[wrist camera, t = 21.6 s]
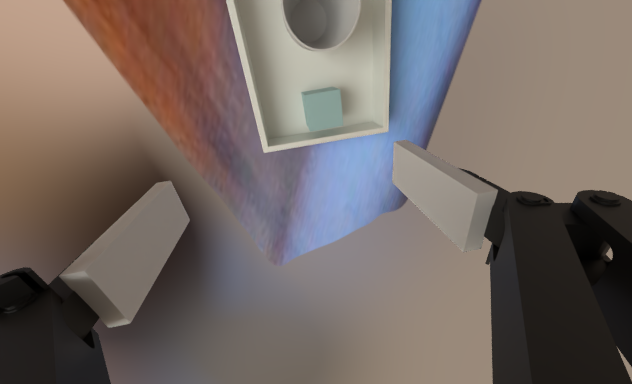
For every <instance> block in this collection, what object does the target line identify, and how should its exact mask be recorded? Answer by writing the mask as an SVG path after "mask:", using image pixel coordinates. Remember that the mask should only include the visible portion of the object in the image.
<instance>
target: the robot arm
mask: <svg viewBox="0 0 632 384" xmlns="http://www.w3.org/2000/svg"><path fill="white" fill-rule="evenodd" d="M392 182H393V183H394V184H395V185H396V186H397V187H398V188H399V189H400V190H401V191H402V192H403V193H404V194H405V195H406V196H407V197H408V198H409V199H410V200H411V201H412V202H413V203H414V204H415V205H416V206H417V207H418V208H419V209H420V210H421V211H422V212H423V213H424V214H425V215H426V216H427V217H428V218H429V219H430V220H431V221H432V222H433V223H434V224H435V225H436V226H437V227H438V228H439V229H440V230H441V231H442V232H443V233H444V234H445V235H446V236H447V237H448V238H449V239H450V240H452V241H453V242H454V243H455V244H456V245H457V246H458V247H459V248H460V249H461V250H462V251H463V252H467V251H471V250H476V249H481V247H482V243H483V240H484V237H486V238H487V239H488V240H489V241H491V242H492V245H491V248H490V251H489V254H488V257H487V261H486V264H489V263H490V279H491V318H492V319H491V324H492V366H493V367H492V368H493V384H632V381H631V379H630V377H629V374H628V372H627V370H626V367H625V365H624V363H623V361H622V358H621V356H620V353H619V351H618V349H619V350H620V351H621V353H622V354H623V355H624V357H625V358H626V360H627V361H628V362H629V364H630V365H631V366H632V201H631V200H629V199H627V198H625V197H623V196H619V195H616V194H615V193H612V192H606V191H601V190H600V191H594V190H586V191H581V192H578V193H577V195H576V197H575V199H574V201H573V203H554V202H553V200H551V199H549V198H548V197H546V196H543V195H540V194H537V193H532V192H522V191H518V192H512V193H510V192H508V191H506V190H504V189H502V188H500V187H499V186H497V185H495V184H493V183H491V182H489V181H486V179H484V178H482V177H479V176H478V175H476V174H474V173H472V172H470V171H467V170H464V169H460V168H456V167H455V166H453V165H451V164H449V163H447V162H446V161H444V160H442V159H440V158H439V157H437V156H435V155H433V154H431V153H429V152H428V151H426V150H424V149H422V148H420V147H419V146H417V145H415V144H413V143H411V142H409V141H408V140H402V141H396V142H394V154H393V180H392ZM189 221H190V219H189V217H188V215H187V213H186V211H185V209H184V207H183V205H182V203H181V201H180V199H179V197H178V195H177V193H176V191H175V189H174V187H173V184H172V182H171V181H167V182H161V183H156V184H155V185H154V186H153V187H152V188H151V189H150V190H149V191H148V192H147V193H146V194H145V195H144V196H143V197H142V198H141V199H139V200H138V201H137V202H136V203H135V204H134V205H133V206H132V207H131V208H130V209H129V210H128V211H127V212H126V213H125V214H124V215H123V216H121V217H120V219H118V220H117V221H116V222H115V223H114V224H113V225H112V226H111V227H110V228H109V229H108V230H107V231H106V232H105V233H104V234H103V235H101V236H100V237H99V238H98V239H97V240H96V241H95V242H94V243H92V244H91V245H90V246H89V247H88V248H87V249H86V250H85V251H84V252H83V253H82V254H81V255H79V256H78V257H77V258H76V259H75V261H73V262H72V263H71V264H70V265H69V266H68V267H67V268H66V269H65V270H64V271H62V272H61V273H60V274H59V275H58V276H57V277H56V278H55V279H54V280H53V281H52V282H51V283H50V284H49V285H47V284H46V283H45V282H44V281H43V280H42V279H41V278H40V277H39V276H38V275H37V274H36V273H35V272H34V271H33V270H32V269H31V268H20V269H16V270H12V271H10V272H7V273H5V274H2V275H0V384H111V383H110V379H109V375H108V371H107V367H106V363H105V359H104V355H103V351H102V348H101V343H100V340H99V335H98V333H97V332H96V331H95V330H94V329H93V328H92V327H93V326H94V324H95V323H96V322H97V320H98V319H99V318H100V319H101V320H102V321H103V322H104V323H105V324H106V325H107V326H108V327H115V326H119V325H124V324H129V323H131V321H132V320H133V318H134V316H135V314H136V313H137V311H138V309H139V308H140V306H141V304H142V302H143V301H144V299H145V297H146V295H147V294H148V292H149V290H150V288H151V287H152V285H153V283H154V281H155V280H156V278H157V276H158V275H159V272H160V271H161V269H162V268H163V266H164V264H165V262H166V261H167V259H168V257H169V255H170V253H171V252H172V250H173V249H174V247H175V245H176V243H177V242H178V240H179V238H180V236H181V235H182V233H183V231H184V230H185V228H186V226H187V224H188V223H189ZM610 247H611V249H612V251H613V258H612V260H610V258H609V257H608V256H607V255H606V253H607V252H608V250H609V248H610ZM617 347H618V349H617Z"/></svg>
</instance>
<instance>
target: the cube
mask: <svg viewBox="0 0 632 384" xmlns="http://www.w3.org/2000/svg"><path fill="white" fill-rule="evenodd" d="M301 95H302V101H303V107H304V113H305V119H306V125H307V127H308V128H309V130H310V132H311V131H317V130H322V129H327V128H333V127H338V126H343V116H342V105H341V93H340V89H338V88H335V87H327V88H322V89H316V90H310V91H305V92H301Z"/></svg>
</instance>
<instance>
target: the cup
mask: <svg viewBox="0 0 632 384" xmlns="http://www.w3.org/2000/svg"><path fill="white" fill-rule="evenodd" d="M360 8H361V0H281V10H282V15H283V21H284V24H285V27H286V29H287V32H288V33H289V35H290V37H291V38H292V39H293V40H294V41H295V42H296V43H297V44H298V45H299V46H301V47H302V48H304V49H306V50H310V51H329V50H332V49H335V48H337V47H339V46H340V45H341V44H343V43H344V42H345V41H346V40H347V39H348V38H349V36H350V35H351V34H352V32H353V30H354V29H355V26H356V24H357V21H358V18H359V14H360Z"/></svg>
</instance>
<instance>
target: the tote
mask: <svg viewBox="0 0 632 384" xmlns="http://www.w3.org/2000/svg"><path fill="white" fill-rule="evenodd" d="M226 2H227V6H228V10H229V14H230V18H231V22H232V26H233V30H234V34H235V38H236V42H237V46H238V50H239V54H240V58H241V62H242V66H243V70H244V74H245V78H246V82H247V86H248V90H249V94H250V98H251V102H252V106H253V110H254V114H255V119H256V123H257V127H258V131H259V135H260V139H261V143H262V147H263V151H264V153H266V152H272V151H278V150H284V149H290V148H296V147H301V146H307V145H313V144H319V143H325V142H331V141H337V140H342V139H348V138H354V137H360V136H366V135H372V134H378V133H383V132H388V125H389V87H390V48H391V9H392V0H361V8H360V14H359V18H358V21H357V24H356V26H355V29H354V30H353V32H352V34H351V35H350V36H349V38H348V39H347V40H346V41H345V42H344V43H343V44H341V45H340V46H339V47H337V48H335V49H332V50H329V51H310V50H306V49H304V48H302V47H301V46H299V45H298V44H297V43H296V42H295V41H294V40H293V39H292V38H291V37H290V35H289V33H288V32H287V29H286V27H285V24H284V21H283V15H282V10H281V0H226ZM327 87H335V88H338V89H340V93H341V105H342V116H343V126H338V127H333V128H327V129H322V130H317V131H311V132H310V130H309V128H308V127H307V125H306V119H305V113H304V107H303V101H302V95H301V92H305V91H310V90H316V89H322V88H327Z"/></svg>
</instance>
